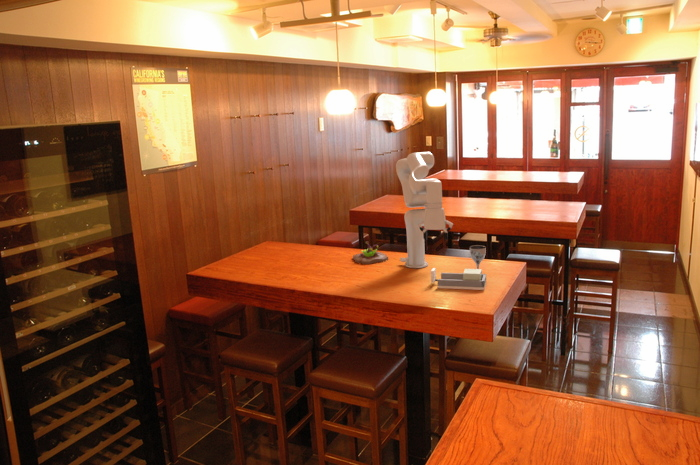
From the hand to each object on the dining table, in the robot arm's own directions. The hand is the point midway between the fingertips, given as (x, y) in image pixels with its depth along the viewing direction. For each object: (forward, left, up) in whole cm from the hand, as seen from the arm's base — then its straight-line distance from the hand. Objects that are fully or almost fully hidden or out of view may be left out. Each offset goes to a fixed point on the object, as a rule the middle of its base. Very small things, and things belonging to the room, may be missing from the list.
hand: (435, 240), depth 278 cm
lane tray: (+13, -1, -22) cm, 25 cm away
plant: (-46, +41, -23) cm, 66 cm away
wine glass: (+19, +16, -22) cm, 33 cm away
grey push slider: (+10, -1, -21) cm, 23 cm away
